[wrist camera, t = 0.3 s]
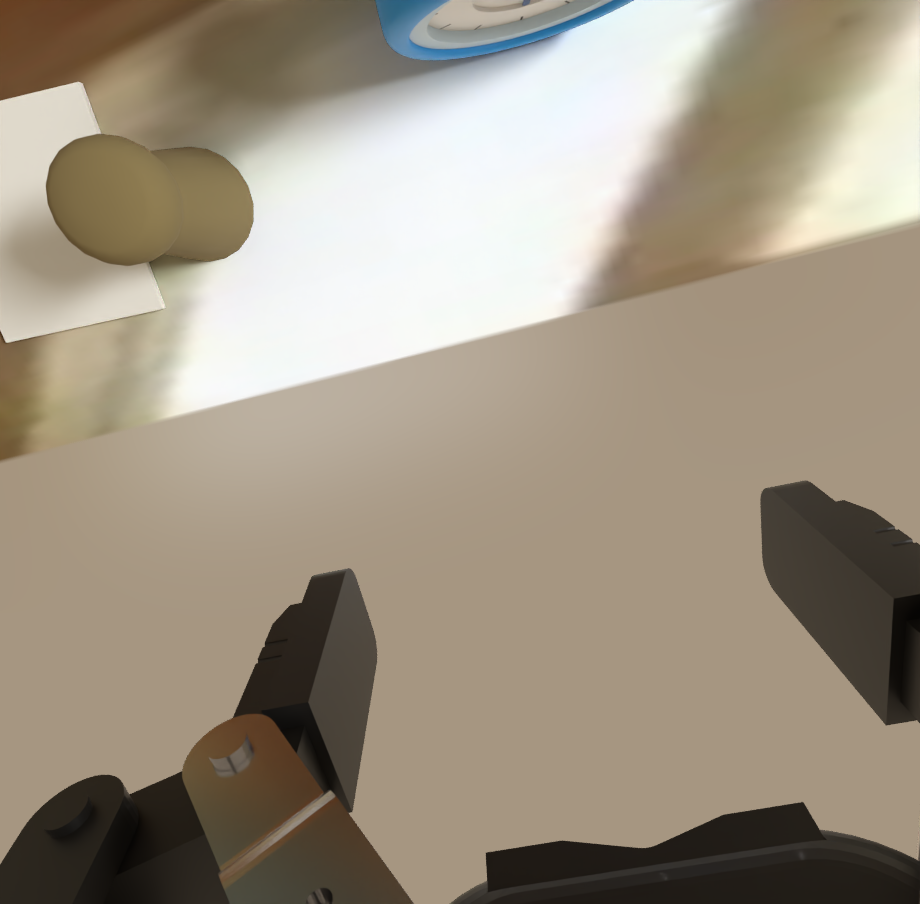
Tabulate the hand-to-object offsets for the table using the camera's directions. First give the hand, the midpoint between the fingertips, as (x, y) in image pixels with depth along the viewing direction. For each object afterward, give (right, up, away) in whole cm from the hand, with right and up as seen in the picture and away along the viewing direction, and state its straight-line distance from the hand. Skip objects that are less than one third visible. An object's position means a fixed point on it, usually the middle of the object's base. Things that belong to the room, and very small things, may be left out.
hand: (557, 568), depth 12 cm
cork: (-17, +16, +23) cm, 33 cm away
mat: (-26, +15, +23) cm, 38 cm away
